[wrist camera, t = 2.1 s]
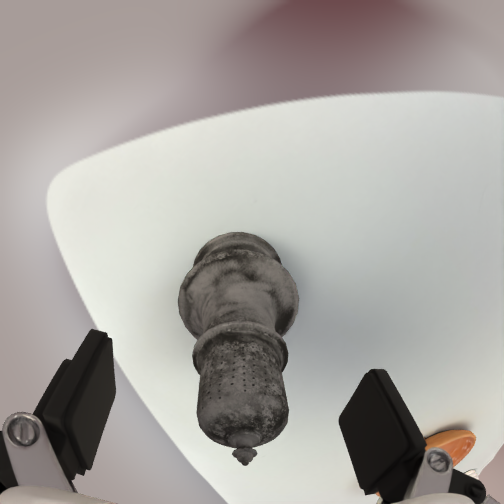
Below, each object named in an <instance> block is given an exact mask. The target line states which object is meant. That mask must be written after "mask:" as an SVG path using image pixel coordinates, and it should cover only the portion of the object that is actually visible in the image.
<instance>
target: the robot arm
mask: <svg viewBox="0 0 504 504" xmlns="http://www.w3.org/2000/svg"><path fill="white" fill-rule="evenodd" d="M115 394H116V386H115V374H114V362H113V345H112V338H109V337H108V335H107V333H106V332H102V331H98V330H94V329H91V330H90V331H89V333H88V334H87V336H86V338H85V339H84V341H83V343H82V344H81V346H80V347H79V349H78V351H77V353H76V354H75V356H74V358H73V359H72V360H69V359H66V360H64V361H63V362H62V364H61V365H60V367H59V369H58V370H57V372H56V374H55V375H54V377H53V379H52V380H51V382H50V384H49V386H48V387H47V389H46V391H45V393H44V394H43V396H42V398H41V400H40V402H39V403H38V405H37V407H36V409H35V411H34V413H33V414H31V413H26V412H17V413H14V414H12V415H10V416H9V417H8V418H7V419H6V420H5V422H4V424H3V428H2V431H0V504H117V503H113V502H109V501H105V500H101V499H97V498H94V497H90V496H86V495H83V494H79V493H78V492H77V490H76V488H75V487H74V484H73V483H72V481H71V480H74V479H75V475H76V473H77V474H80V475H83V476H84V474H85V471H86V469H87V470H91V468H92V465H93V461H94V458H95V455H96V452H97V449H98V446H99V443H100V440H101V436H102V433H103V430H104V427H105V424H106V422H107V419H108V416H109V413H110V410H111V407H112V404H113V402H114V399H115ZM339 426H340V429H341V431H342V434H343V437H344V440H345V443H346V446H347V449H348V452H349V455H350V458H351V461H352V464H353V468H354V471H355V474H356V477H357V480H358V483H359V486H360V488H361V489H363V490H364V493H365V495H370V494H375V493H378V492H379V494H380V497H379V499H378V501H377V503H376V504H500V503H499V502H497V501H496V500H495V499H494V498H492V497H491V496H490V495H487V496H486V489H485V487H484V485H483V484H482V483H481V481H479V480H478V479H475V478H473V477H471V476H469V475H466V474H464V473H462V472H460V471H458V470H456V469H453V460H452V458H451V456H450V454H449V453H448V452H447V451H445V450H444V449H442V448H438V447H432V448H429V449H428V450H427V451H426V449H425V447H426V446H427V443H426V441H425V439H424V437H423V435H422V433H421V432H420V430H419V428H418V426H417V424H416V422H415V421H414V419H413V417H412V415H411V413H410V411H409V410H408V408H407V406H406V404H405V403H404V401H403V399H402V397H401V395H400V394H399V392H398V390H397V388H396V387H395V385H394V383H393V382H392V380H391V378H390V376H389V375H388V373H387V371H386V370H384V369H371V370H369V372H368V373H366V374H365V375H364V376H363V378H362V380H361V382H360V383H359V385H358V387H357V389H356V390H355V392H354V394H353V395H352V397H351V399H350V400H349V402H348V403H347V405H346V407H345V408H344V410H343V411H342V413H341V415H340V417H339Z"/></svg>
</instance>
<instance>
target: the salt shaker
mask: <svg viewBox="0 0 504 504" xmlns="http://www.w3.org/2000/svg"><path fill="white" fill-rule="evenodd" d="M298 303H299V297H298V292H297V288H296V284H295V282H294V281H293V279H292V277H291V275H290V274H289V272H288V271H287V270H286V269H285V268H284V267H283V266H282V265H281V261H280V258H279V256H278V255H277V253H276V251H275V250H274V248H273V247H272V246H271V245H270V244H268V243H267V242H266V241H265V240H263V239H261V238H259V237H258V236H256V235H252V234H248V233H244V232H232V233H227V234H223V235H220V236H217V237H216V238H214V239H212V240H211V241H209V242H208V243H207V244H206V245H205V246H204V247H203V248H202V249H201V250H200V251H199V253H198V255H197V257H196V259H195V261H194V265H193V268H192V269H191V270H190V271H189V272H188V273H187V275H186V277H185V279H184V281H183V283H182V285H181V287H180V291H179V297H178V306H179V314H180V316H181V319H182V321H183V323H184V325H185V327H186V328H187V329H188V331H189V332H190V333H191V334H192V335H193V336H194V337H195V338H196V339H197V340H198V341H197V342H196V344H195V346H194V350H193V355H192V358H193V364H194V367H195V369H196V370H197V372H198V374H199V375H200V383H199V393H198V403H197V418H198V422H199V426H200V428H201V429H202V431H203V432H204V433H205V434H206V435H207V436H208V437H209V438H210V439H211V440H213V441H214V442H216V443H219V444H221V445H224V446H228V447H232V448H237V449H236V450H234V451H233V453H232V455H233V456H234V457H235V458H237V460H238V461H239V462H241V463H242V465H244V466H246V465H248V464H249V462H251V461H252V460H253V457H255V456H256V455H257V452H256V450H254V449H252V448H253V447H257V446H260V445H263V444H266V443H268V442H270V441H272V440H274V439H275V438H276V437H277V436H278V435H280V433H281V432H282V431H283V429H284V428H285V426H286V424H287V422H288V414H289V408H288V402H287V397H286V392H285V387H284V382H283V377H282V372H283V371H284V369H285V367H286V364H287V362H288V350H287V346H286V343H285V342H284V340H283V339H282V337H283V336H284V335H285V334H286V332H287V331H288V330H289V328H290V327H291V326H292V324H293V322H294V320H295V317H296V315H297V312H298Z"/></svg>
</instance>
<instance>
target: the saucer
mask: <svg viewBox="0 0 504 504" xmlns="http://www.w3.org/2000/svg"><path fill="white" fill-rule="evenodd" d="M425 441H426V443H427V446H426V447H425V449H426V451H427V450H428V449H429V448H432V447H438V448H442V449H444V450H445V451H447V452H448V453H449V454H450V456H451V458H452V460H453V467H454V466H456V465H457V464H458V463H459V462H460V461H461V460H462V459H463V458H464V457H465V456H466V455H467V454H468V453H469V452H470V450H471V449H472V448H473V446H474V444H475V441H476V436H475V435H474V434H473V433H472V432H471V431H468V430H448V431H444V432H441V433H438V434H436V435H433V436H431V437H429V438H427V439H425ZM376 495H377V496H379V497H380V494H379V492H378V493H376Z"/></svg>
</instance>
